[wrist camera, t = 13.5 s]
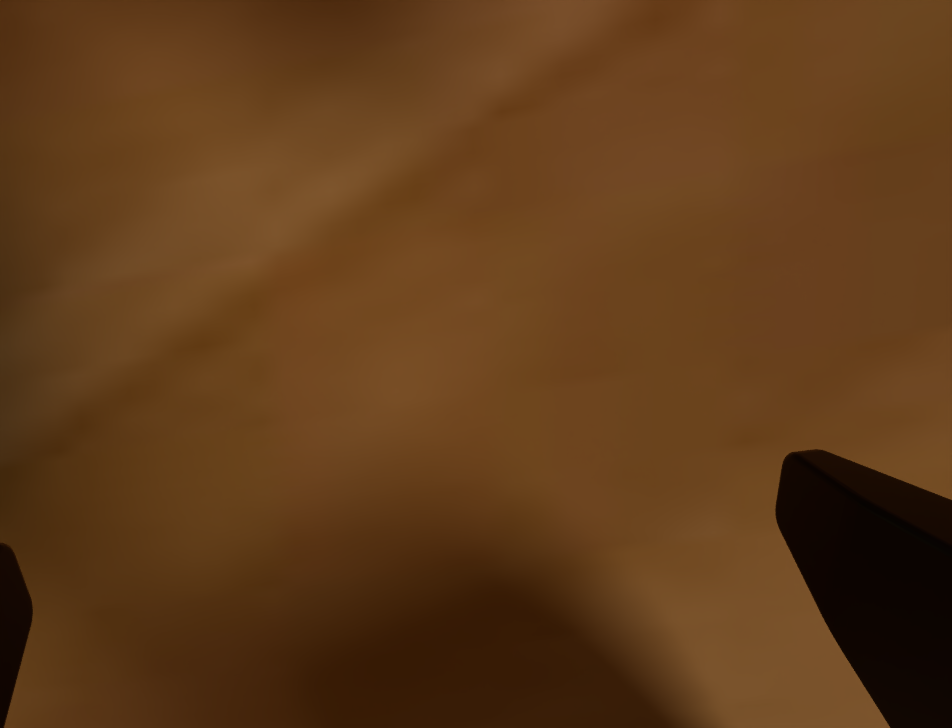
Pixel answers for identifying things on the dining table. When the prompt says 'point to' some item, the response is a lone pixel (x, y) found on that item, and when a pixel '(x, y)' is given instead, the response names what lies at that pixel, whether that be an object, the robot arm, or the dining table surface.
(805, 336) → the dining table surface
